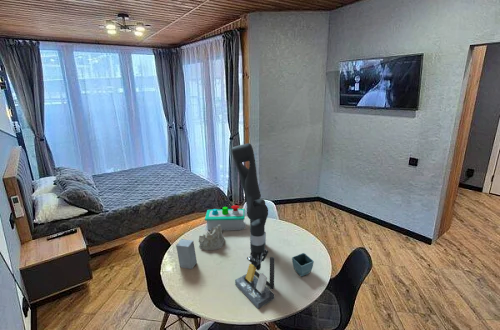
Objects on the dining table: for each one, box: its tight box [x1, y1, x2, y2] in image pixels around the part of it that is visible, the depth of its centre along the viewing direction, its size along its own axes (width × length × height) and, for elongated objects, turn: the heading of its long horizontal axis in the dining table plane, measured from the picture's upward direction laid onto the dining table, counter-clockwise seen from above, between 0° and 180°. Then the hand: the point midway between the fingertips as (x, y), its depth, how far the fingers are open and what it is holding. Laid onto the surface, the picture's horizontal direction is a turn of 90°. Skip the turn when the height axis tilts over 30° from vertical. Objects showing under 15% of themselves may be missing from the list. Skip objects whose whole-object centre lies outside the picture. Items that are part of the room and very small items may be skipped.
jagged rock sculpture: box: [198, 225, 225, 251], centre depth 177 cm, size 16×16×15 cm
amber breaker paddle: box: [245, 263, 257, 282], centre depth 139 cm, size 2×4×8 cm, turn 37°
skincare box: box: [175, 238, 198, 270], centre depth 155 cm, size 8×7×16 cm
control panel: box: [204, 204, 247, 232], centre depth 197 cm, size 15×17×30 cm
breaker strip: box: [234, 274, 275, 310], centre depth 136 cm, size 10×20×5 cm, turn 36°
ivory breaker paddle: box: [256, 272, 268, 293], centre depth 132 cm, size 2×4×8 cm, turn 37°
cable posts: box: [250, 256, 276, 290], centre depth 143 cm, size 2×18×18 cm, turn 36°
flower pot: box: [291, 252, 315, 277], centre depth 148 cm, size 9×9×9 cm
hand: (257, 269), depth 141 cm, fingers closed
